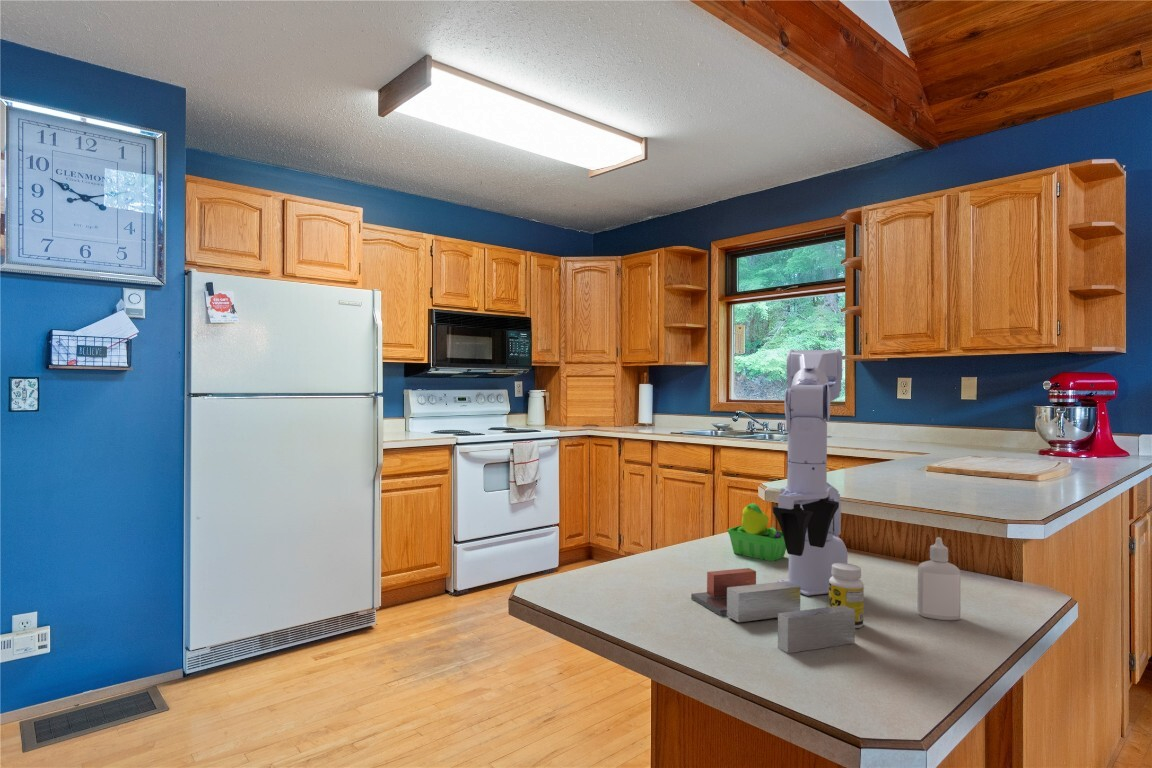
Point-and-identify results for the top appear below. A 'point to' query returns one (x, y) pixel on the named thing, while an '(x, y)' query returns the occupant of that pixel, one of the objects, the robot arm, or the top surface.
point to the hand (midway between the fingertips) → (806, 550)
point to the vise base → (712, 602)
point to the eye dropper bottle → (938, 585)
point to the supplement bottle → (847, 589)
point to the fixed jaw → (816, 628)
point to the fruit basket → (757, 536)
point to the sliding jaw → (752, 595)
